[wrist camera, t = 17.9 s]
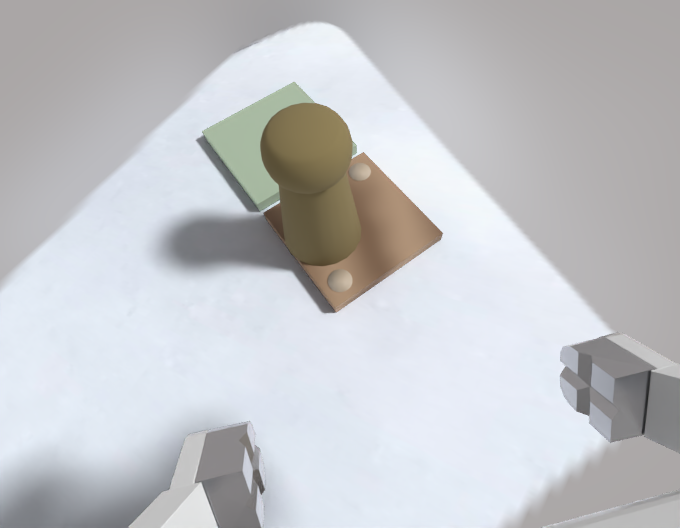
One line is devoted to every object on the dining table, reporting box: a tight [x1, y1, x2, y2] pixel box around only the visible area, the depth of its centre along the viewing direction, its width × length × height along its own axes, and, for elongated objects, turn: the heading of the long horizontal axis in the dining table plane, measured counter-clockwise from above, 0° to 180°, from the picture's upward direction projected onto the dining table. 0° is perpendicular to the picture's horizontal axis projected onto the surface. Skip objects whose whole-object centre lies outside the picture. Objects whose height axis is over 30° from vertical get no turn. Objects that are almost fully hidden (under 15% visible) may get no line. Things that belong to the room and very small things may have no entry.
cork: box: [260, 103, 361, 266], centre depth 26 cm, size 6×6×11 cm
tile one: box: [202, 82, 357, 211], centre depth 36 cm, size 10×10×1 cm
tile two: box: [264, 152, 443, 312], centre depth 32 cm, size 10×10×1 cm
